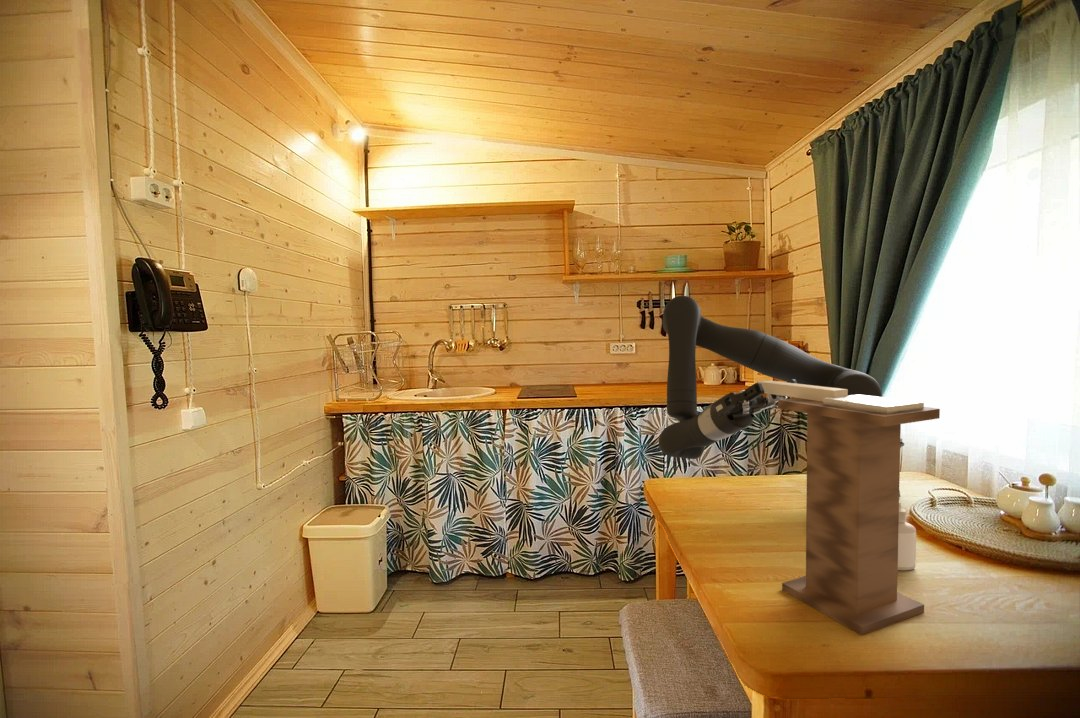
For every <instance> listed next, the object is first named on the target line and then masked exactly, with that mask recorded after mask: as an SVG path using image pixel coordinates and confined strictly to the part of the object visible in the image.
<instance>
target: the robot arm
mask: <svg viewBox="0 0 1080 718" xmlns="http://www.w3.org/2000/svg"><path fill="white" fill-rule="evenodd" d="M662 328H663V330H664V332H665V333H666V334H667V338H668V367H667V380H666V414H667V415H668V416H669V417H671V418H672V419H675V420H677V421H678V422H674V423H672V424H670V425H668V426H666V427H665V428H664V429H663V430H661V433H660V434H659V437H658V447H659V450H660V451H661V452H662V453H663V454H664V455H666V456H667V457H671V458H679V459H680V458H681V459H686V460H687V459H689V460H695V459H698V458H700V457H701V456H702V455H703V453H704V451H705V448H706V447H709V446H712V445H713V444H716V443H717V442H719V441H720V440H724V439H727V438H729V437H731V436H733V435H734V434H737V433H738V432H740V431H742V430H745V429H746V428H748V427H749V426H751V424H752V423H753V421H754V417H755V415H756V414H759V413H761V412H762V411H764V410H766V409H767V411H771V410H773V409H774V408H778V400H782V399H791V398H792V397H788V396H781V395H774V394H767V393H764V389H763V387H762V384H761V383H757V382H756V383H754V384H752V385H751V386H749V387H747V388H745V389H741V390H739V391H738V392H733V391H731V392H729V393H727V394H724V395H723V396H722V397H720V398H718V399H717V400H715V401H714V402H712V403H711V404H709V405H708V406H706V407H705V408H704V409H703V410H702V411H701V412H699V413H698V393H697V392H698V389H697V370H696V368H697V367H696V366H697V365H696V347H699V348H702V349H705V350H708V351H710V352H713V353H715V354H717V355H719V356H721V357H723V358H726V359H728V360H730V361H733V362H734V363H737V364H740V365H741V366H743V367H745V368H748V369H749V370H752V371H755V372H757V373H759V374H761V375H764V376H767V377H769V378H772V379H776V380H779V381H782V382H787V383H796V384H805V385H814V386H822V387H831V388H840V389H848V395H857V394H859V395H868V396H876V397H883V393H882V388H881V385H880V384H879V382H878V381H877V380H876V379H875V378H874V377H873V376H871V375H870V374H867V373H865V372H862V371H859V370H854V369H850V368H847V367H843V366H839V365H836V364H833V363H831V362H827V361H824V360H821V359H819V358H817V357H815V356H813V355H811V354H809V353H807V352H805V351H804V350H802V349H800V348H798V347H796V346H795V345H792V344H791V343H789V342H787V341H785V340H782V339H780V338H777V337H775V336H773V335H770V334H767V333H765V332H763V331H759V330H756V329H749V328H744V327H743V328H742V327H736V326H735V327H734V326H727V325H723V324H720V323H717V322H715V321H712V320H710V319H708V318H705V317H704V316H702V312H701V307H700V306H699V304H698V302H697V301H696V300H695V299H694V298H692V297H690V296H688V295H678V296H675V297H673V298H671V299H670V300H669V301H668V302H667V303H666V305H665V307H664V309H663V313H662ZM764 395H765V396H764Z"/></svg>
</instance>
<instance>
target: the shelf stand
mask: <svg viewBox="0 0 1080 718" xmlns="http://www.w3.org/2000/svg"><path fill="white" fill-rule="evenodd" d="M777 408H778V409H780V410H781V409H782V410H787V411H793V412H799V413H804V414H806V415H807V417H806V419H807V420H806V423H807V425H806V426H807V427H806V510H805V511H806V517H805V518H806V523H805V524H806V526H805V538H806V539H805V576H800V577H797V578H795V579H791V580H787V581H784V582H782V584H781V585H782V586H781V589H782V591H784V592H785V593H787V594H789V595H790V596H792V597H794V598H795V599H797V600H799V601H801V602H803V603H805V604H806V605H808V606H811V607H812V608H814V609H816V610H817V611H819V612H820V613H822V614H824V615H825V616H828V617H829V618H831V619H833V620H834V621H836V622H838V623H840V624H842V625H843V626H845V627H847V628H848V629H850V630H852V631H853V632H855V633H857V634H859V635H861V636H863V635H867V634H869V633H871V632H875V631H877V630H880V629H883V628H885V627H888V626H890V625H893V624H895V623H899V622H901V621H904V620H907V619H909V618H911V617H915V616H916V615H920V614H923V613H925V604H924V603H921V602H919V601H917V600H916V599H913V598H911V597H908V596H907V595H904V594H902V593H900V592H898V571H899V570H898V526H899V502H900V497H899V490H900V479H901V477H900V475H901V474H900V473H901V471H900V469H901V468H900V466H901V465H900V464H901V448H900V438H901V427H902V425H904V424H910V423H918V422H923V421H933V420H936V419H937V420H938V419H940V415H941V413H940V412H941V411H940V410H941V409H940V408H936V407H928V406H924V409H920V410H913V411H906V412H898V413H891V414H884V413H877V412H870V411H864V410H857V409H850V408H844V407H837V406H830V405H824V404H823V401H816V400H809V399H802V398H795V397H791V399H782V400H778V406H777Z"/></svg>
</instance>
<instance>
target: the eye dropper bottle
mask: <svg viewBox="0 0 1080 718" xmlns="http://www.w3.org/2000/svg"><path fill="white" fill-rule="evenodd" d="M916 556H917V529H916V527H915V526H914V525H912V524H911V523H909V522H907V511H906V509H904V508H902V505H901V502H900V501H899V526H898V571H910V570H914V569H915V568H916V565H917V564H916V562H917V560H916V559H917V557H916Z"/></svg>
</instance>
